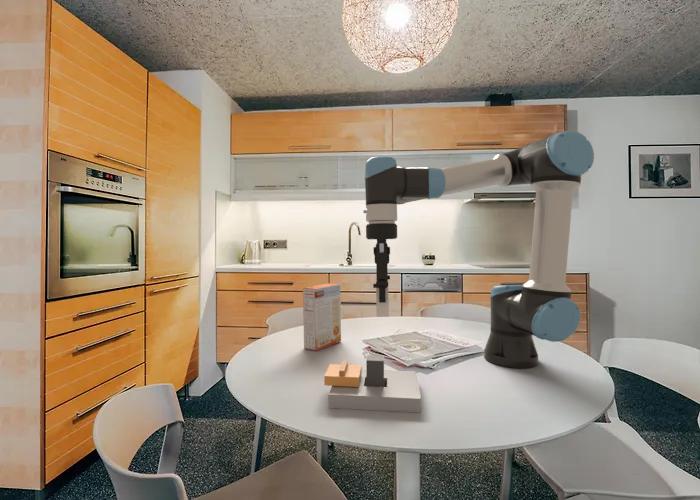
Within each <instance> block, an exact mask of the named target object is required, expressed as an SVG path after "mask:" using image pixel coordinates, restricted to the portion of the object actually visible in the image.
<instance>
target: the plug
mask: <svg viewBox="0 0 700 500" xmlns="http://www.w3.org/2000/svg"><path fill="white" fill-rule="evenodd" d="M365 365H366V386H373V387H384V370H385V355H383V354H382V355H381V354H380V355H379V354H378V355H377V354H367V356H366V364H365Z"/></svg>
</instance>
